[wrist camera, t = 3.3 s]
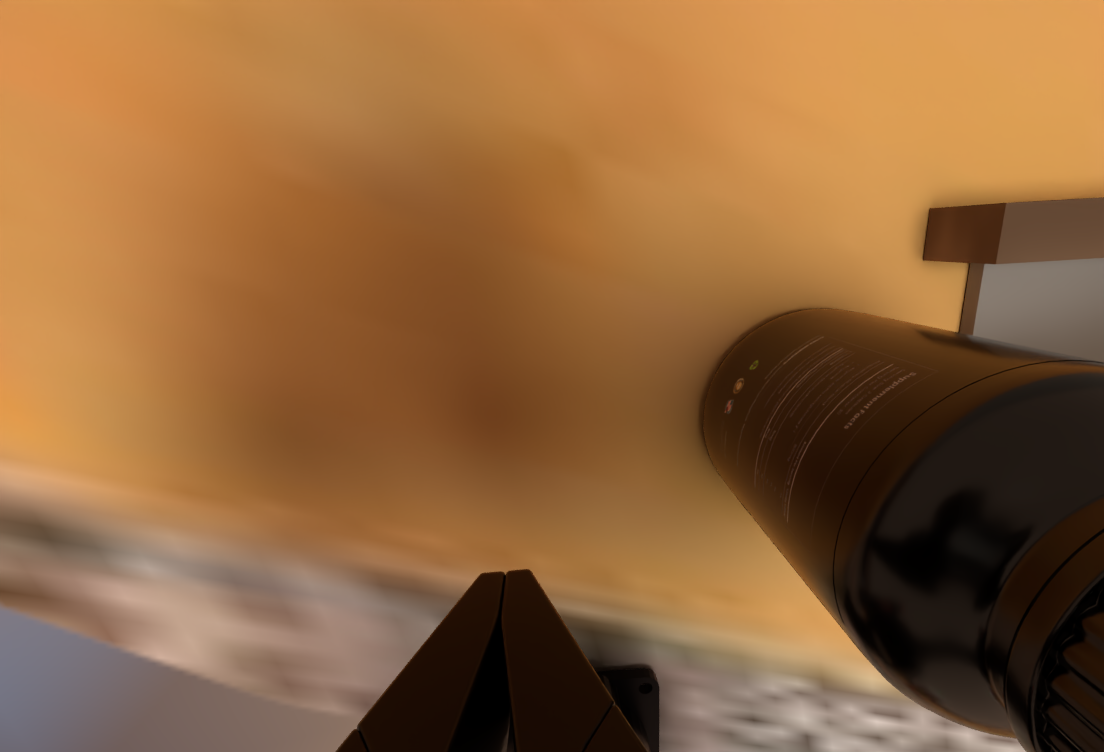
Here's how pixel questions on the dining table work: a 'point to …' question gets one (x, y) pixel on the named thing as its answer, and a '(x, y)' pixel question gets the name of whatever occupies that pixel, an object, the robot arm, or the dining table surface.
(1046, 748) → the supplement bottle
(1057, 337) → the cradle
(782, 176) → the dining table surface
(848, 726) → the dining table surface
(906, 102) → the dining table surface
